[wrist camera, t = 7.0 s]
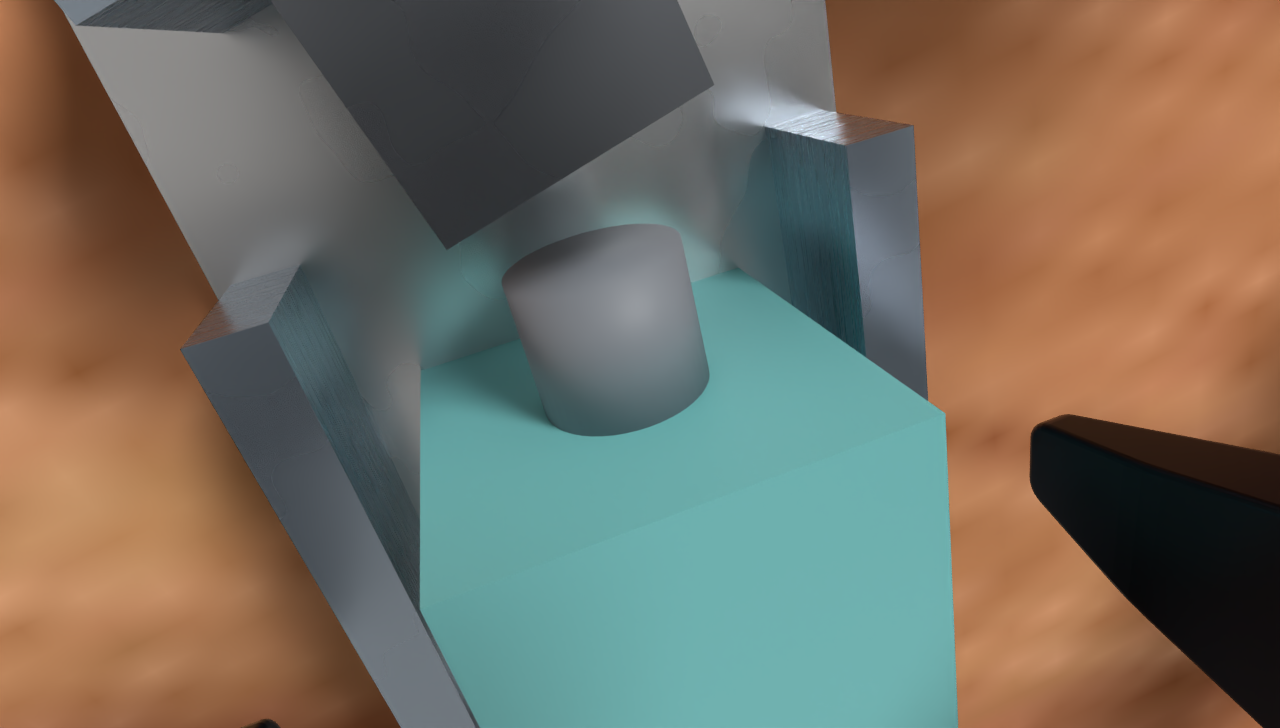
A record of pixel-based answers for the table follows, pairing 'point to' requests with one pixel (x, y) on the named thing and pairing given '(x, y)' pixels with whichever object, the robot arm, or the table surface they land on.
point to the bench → (372, 232)
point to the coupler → (681, 508)
